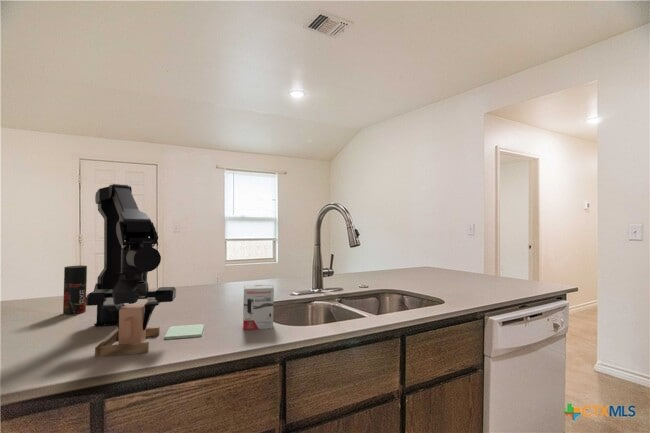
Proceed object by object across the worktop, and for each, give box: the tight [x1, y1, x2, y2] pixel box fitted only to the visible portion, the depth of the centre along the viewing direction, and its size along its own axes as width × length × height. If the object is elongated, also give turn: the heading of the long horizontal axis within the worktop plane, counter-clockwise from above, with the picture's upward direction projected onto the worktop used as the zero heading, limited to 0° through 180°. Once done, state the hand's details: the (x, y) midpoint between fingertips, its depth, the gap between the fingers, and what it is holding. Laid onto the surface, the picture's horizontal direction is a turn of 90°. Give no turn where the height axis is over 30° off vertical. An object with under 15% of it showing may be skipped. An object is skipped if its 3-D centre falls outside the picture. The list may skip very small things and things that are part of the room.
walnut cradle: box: [94, 326, 160, 358], centre depth 81 cm, size 10×13×2 cm
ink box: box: [242, 283, 275, 331], centre depth 96 cm, size 8×5×12 cm, turn 103°
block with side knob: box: [117, 303, 147, 345], centre depth 81 cm, size 8×5×9 cm, turn 16°
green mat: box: [163, 323, 205, 340], centre depth 91 cm, size 9×9×1 cm
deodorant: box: [62, 265, 88, 316], centre depth 109 cm, size 6×6×15 cm
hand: (132, 330), depth 82 cm, fingers closed on block with side knob, 5 cm apart
